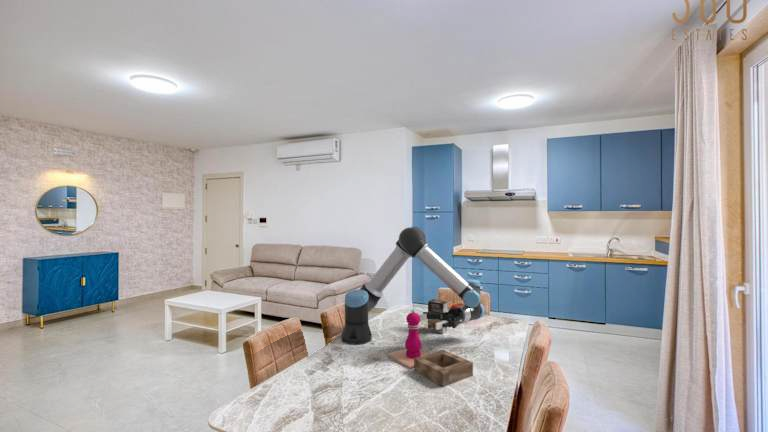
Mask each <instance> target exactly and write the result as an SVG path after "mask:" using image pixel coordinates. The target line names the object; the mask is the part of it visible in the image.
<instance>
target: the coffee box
mask: <svg viewBox="0 0 768 432" xmlns="http://www.w3.org/2000/svg"><path fill="white" fill-rule="evenodd" d="M437 311H443V313H445V312H448V301H446V300H441V299H435V298H432V299H430V300H429V301H427V312H437ZM441 319H442V317H441ZM443 321H445V320H439V319H427V332H431V333H436V334H440V335H444V334H445V333H446V332H447V331H448V327H447V328H443V329H439V330H436V323H438V322H443Z"/></svg>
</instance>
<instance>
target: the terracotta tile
mask: <svg viewBox="0 0 768 432" xmlns="http://www.w3.org/2000/svg"><path fill="white" fill-rule="evenodd" d="M406 351H407V349H406V348H403V349H400V350H396V351H393V352H389V353H387V354H386V357H388V358H390V359H391V360H394V361H395V362H397V363H399V364H401V365H403V366H405V368H407V369H410V370H412V369H413V370H414V358H408V357H407V356H406ZM419 351H420V352H421V356H424V355H427V354H430V353H431V352H428V351H426V350H424V349H422V348H421V349H420V350H419Z"/></svg>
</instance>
